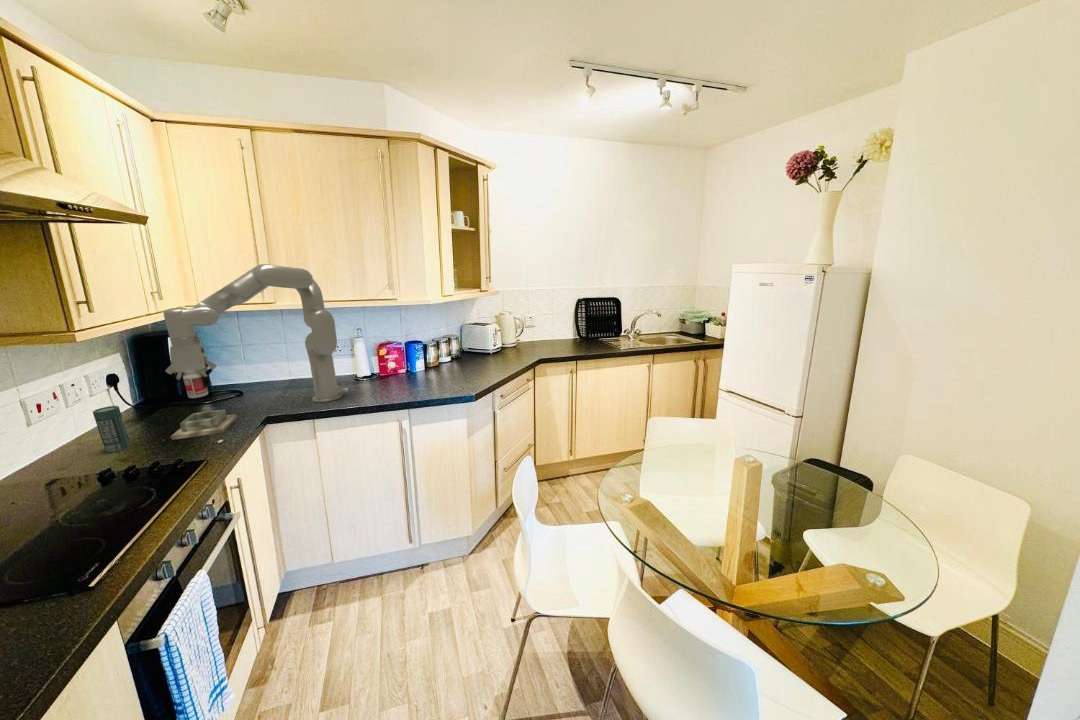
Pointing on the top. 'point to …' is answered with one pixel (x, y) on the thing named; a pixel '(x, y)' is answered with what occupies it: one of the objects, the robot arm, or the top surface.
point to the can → (111, 428)
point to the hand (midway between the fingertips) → (196, 386)
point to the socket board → (204, 424)
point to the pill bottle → (194, 384)
